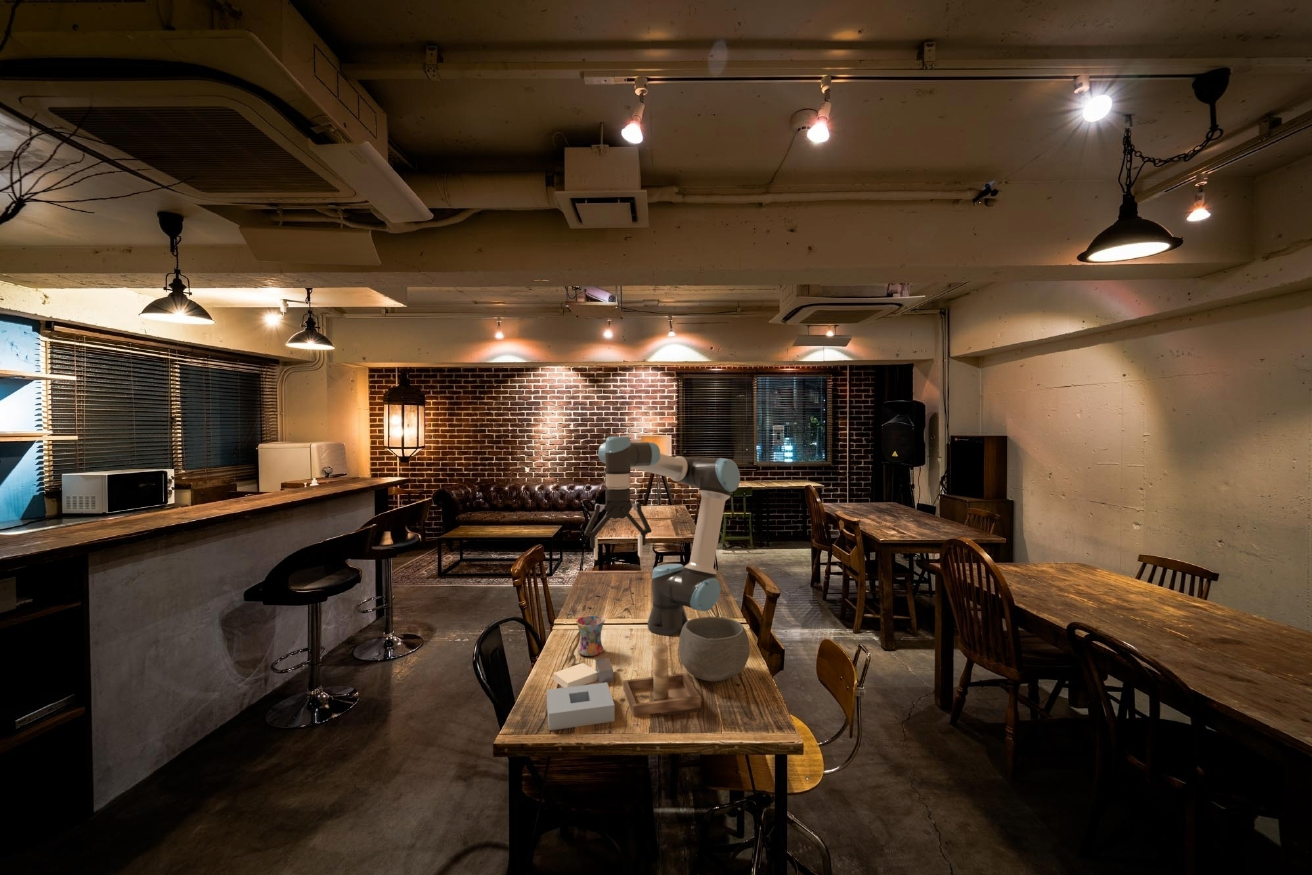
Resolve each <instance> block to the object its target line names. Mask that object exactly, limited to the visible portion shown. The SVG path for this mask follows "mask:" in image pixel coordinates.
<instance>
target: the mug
mask: <svg viewBox="0 0 1312 875" xmlns="http://www.w3.org/2000/svg"><path fill="white" fill-rule="evenodd" d="M605 621H606V620H605V617H602V616H600V615H585V616H584V615H583V616H581V617H579V618H577V619H576V621H575V622H576V625H577V629H578V631H579V639H580V640H579V645H578V648H577V653H578V654H580V655H581V656H585V657H593V656H598V655H599V654H601V653H603V651H604V646H603V644H602V629H603V626H604V623H605Z"/></svg>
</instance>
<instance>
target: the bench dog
mask: <svg viewBox="0 0 1312 875" xmlns="http://www.w3.org/2000/svg"><path fill="white" fill-rule="evenodd" d="M595 671H597V672H598V680H597V681H598V683H606V682H607V684H608V683H614V668H613V665H612V663H611V660H610V658H609V657H605V658H596V659H595Z"/></svg>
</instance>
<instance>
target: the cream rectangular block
mask: <svg viewBox="0 0 1312 875" xmlns="http://www.w3.org/2000/svg"><path fill="white" fill-rule="evenodd" d="M553 681H554V682H555V683H557V684H558V685H560V686H561V688H565V687H573V686H581V685H588V684H589V683H592V682H595V681H598V672H597V671H596V669H594V668H592V667H590V666H589V665H587V664H586V663H584V662H582V663H578V664H574V665H572V666H569V667H566V668H564V669H561V670H558V671H555V672H553Z"/></svg>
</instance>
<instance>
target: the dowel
mask: <svg viewBox="0 0 1312 875" xmlns="http://www.w3.org/2000/svg"><path fill="white" fill-rule="evenodd" d="M652 652H653V655H652V656H653V657H652V658H653V662H652V663H653V664H652V665H653V667H652V668H653V670H652V671H653V674H652V675H653V676H652V677H654V699H653V701H654V700H655V701H661V700H668V675H669V645H667V644H666V643H656V644H654V645H653V648H652Z"/></svg>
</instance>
